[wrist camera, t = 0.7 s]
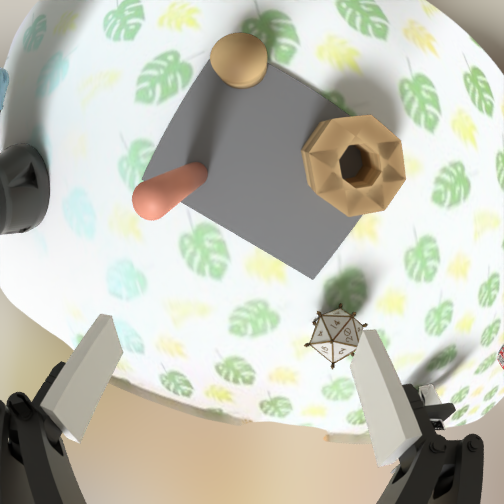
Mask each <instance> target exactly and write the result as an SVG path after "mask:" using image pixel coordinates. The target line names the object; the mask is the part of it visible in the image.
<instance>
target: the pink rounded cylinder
mask: <svg viewBox="0 0 504 504" xmlns="http://www.w3.org/2000/svg"><path fill="white" fill-rule="evenodd" d="M207 177H208V172H207V169H206V167H205V166H204V165H203V164H202V163H199V162H192V163H189V164H187V165H184V166H181V167H179V168H176V169H173V170H171V171H168V172H166V173H163V174H161V175H158V176H156V177H153V178H151V179H149V180H146V181H144V182H142V183H140V184H139V185H138V186H137V187H136V188H135V190H134V192H133V196H132V203H133V207H134V209H135V211H136V212H137V213H138V215H139V216H141V217H142V218H144V219H146V220H157V219H159V218H161V217H163V216H164V215H165V214H166V213H167V212H169V211H170V210H171V209H172V208H173V207H175V206H176V205H177V204H178V203H180V202H181V201H182V200H183V199H184V198H186V197H187V196H188V195H189V194H191V193H192V192H193V191H195V190H196V189H197V188H198V187H200V186H201V185H202V184H204V183H205V181H206V180H207Z"/></svg>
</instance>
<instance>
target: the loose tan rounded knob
mask: <svg viewBox="0 0 504 504" xmlns="http://www.w3.org/2000/svg"><path fill="white" fill-rule="evenodd" d="M210 61H211V65H212V67H213V69H214V70H215V72H216V73H217V74H218V75H219V77H220V78H221V79H222V81H223V82H224V83H225V84H227V85H228V86H230V87H232V88H236V89H248V88H251V87H254V86H256V85H257V84H259V83H260V82H261V81H262V80H263V78H264V77H265V75H266V71H267V50H266V47H265V45H264V44H263V43H262V41H261V40H260V39H258V38H257V37H255V36H253V35H251V34H247V33H233V34H229V35H227V36H224V37H223V38H221V39H220V40H219V41H218V42H217V43H216V44H215V45H214V47H213V48H212V51H211V55H210Z"/></svg>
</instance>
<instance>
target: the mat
mask: <svg viewBox="0 0 504 504" xmlns="http://www.w3.org/2000/svg"><path fill="white" fill-rule="evenodd" d="M343 117H351V116H350V115H348V114H347V113H346V112H344V111H343V110H341V109H340V108H339V107H337V106H336V105H335V104H333V103H332V102H330V101H329V100H327V99H326V98H324V97H323V96H321V95H320V94H318V93H317V92H315V91H314V90H312V89H311V88H309V87H308V86H306V85H305V84H303V83H301V82H300V81H298V80H296V79H295V78H293V77H291V76H290V75H288V74H286V73H285V72H283V71H281V70H279V69H278V68H276V67H274V66H272V65H270V64H268V63H267V71H266V75H265V77H264V78H263V80H262V81H261V82H260V83H259V84H257V85H256V86H254V87H251V88H248V89H236V88H232V87H230V86H228V85H227V84H225V83H224V82H223V81H222V79H221V78H220V77H219V75H218V74H217V73H216V72H215V70H214V69H213V67H212V65H211V61H210V59H209V61H208V62H207V64H206V65H205V67H204V68H203V70H202V71H201V73H200V74H199V76H198V77H197V79H196V80H195V82H194V83H193V85H192V87H191V88H190V90H189V91H188V93H187V95H186V96H185V98H184V100H183V101H182V103H181V105H180V106H179V108H178V110H177V111H176V113H175V115H174V117H173V118H172V120H171V122H170V124H169V126H168V128H167V129H166V131H165V133H164V135H163V137H162V139H161V141H160V143H159V145H158V146H157V148H156V150H155V152H154V154H153V156H152V159H151V161H150V163H149V165H148V167H147V169H146V171H145V173H144V175H143V178H142V180H144V181H146V180H149V179H151V178H153V177H156V176H158V175H161V174H163V173H166V172H168V171H171V170H173V169H176V168H179V167H181V166H184V165H187V164H189V163H192V162H199V163H202V164H203V165H204V166H205V167H206V169H207V172H208V177H207V180H206V181H205V183H204V184H202V185H201V186H200V187H198V188H197V189H196V190H195V191H193V192H192V193H191V194H189V195H188V196H187V197H186V198H184V199H183V200H182V201H181V202H182V203H183V204H185V205H187V206H188V207H190V208H192V209H194V210H195V211H197V212H199V213H200V214H202V215H204V216H206V217H207V218H209V219H211V220H212V221H214V222H216V223H218V224H219V225H221V226H223V227H224V228H226V229H228V230H230V231H231V232H233V233H235V234H236V235H238V236H240V237H241V238H243V239H245V240H247V241H248V242H250V243H252V244H253V245H255V246H257V247H258V248H260V249H262V250H263V251H265V252H267V253H269V254H270V255H272V256H274V257H275V258H277V259H279V260H280V261H282V262H284V263H285V264H287V265H289V266H290V267H292V268H294V269H296V270H297V271H299V272H301V273H302V274H304V275H306V276H307V277H309V278H311V279H312V280H313V279H314V278H315V277H316V275H317V274H318V273H319V272H320V270H321V269H322V268H323V267H324V265H325V264H326V263H327V262H328V260H329V259H330V258H331V256H332V255H333V254H334V253H335V251H336V250H337V249H338V247H339V246H340V245H341V243H342V242H343V241H344V239H345V238H346V237H347V235H348V234H349V233H350V231H351V230H352V229H353V227H354V226H355V225H356V223H357V222H358V221H359V219H360V218H361V216H362V215H357V216H352V217H348V216H346V215H345V214H344V213H342V212H341V211H340V210H338V209H337V208H335V207H334V206H333V205H331V204H330V203H328V202H327V201H325V200H324V199H323V198H321V197H320V196H318V195H317V194H316V193H315V192H314V191H313V190H312V189H311V187H310V186H309V185H308V183H307V178H306V173H305V168H304V163H303V158H302V154H301V149H302V148H303V146H304V145H305V143H306V142H307V140H308V139H309V137H310V136H311V134H312V133H313V131H314V130H315V129H316V127H317V126H318V124H319V123H320V122H322V121H326V120H330V119H335V118H343ZM339 164H340V170H341V176H342V179H346V178H352V177H355V176H356V174H357V173H358V171H359V170H360V168H361V167H362V159H361V153H360V150H359V149H357V148H356V147H355V146H354V145H349V146H348V147H347V149H346V150H345V152H344V153H343V155H342V156H341V158H340V159H339Z"/></svg>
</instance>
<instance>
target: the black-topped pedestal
mask: <svg viewBox="0 0 504 504" xmlns="http://www.w3.org/2000/svg"><path fill="white" fill-rule="evenodd" d="M419 395H420V397H421V401H422V402H423V404H424V408H425V409H426V411H427V413H428V416H429V418H430V420H431V423H432V425H433V428H434V430H446V429H445V426H444V424H443V421H444V420H446V419H447V418H448V417H449V416H450V415H451V414H452V413H454V412H455V411H456V409H455V407H454V405H453V403H445V404H442V403H441V401H440V399H439V396H438V394H437V392H436V390H435V388H434V386H433V384H429V385H424V386H419ZM437 426H438V427H437ZM435 428H442V429H435Z"/></svg>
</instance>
